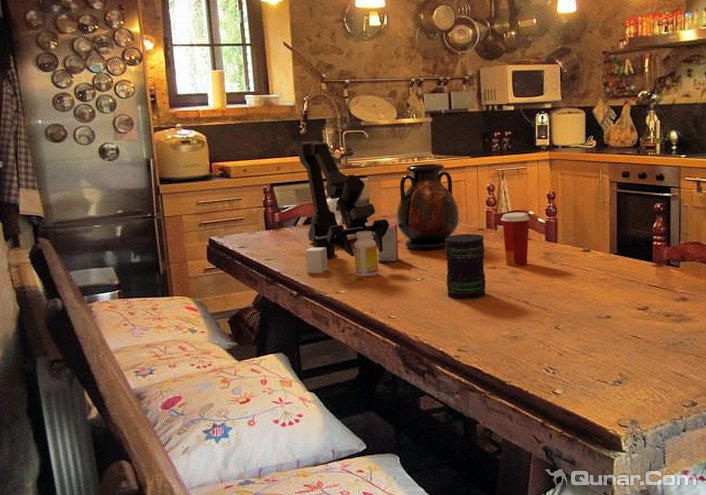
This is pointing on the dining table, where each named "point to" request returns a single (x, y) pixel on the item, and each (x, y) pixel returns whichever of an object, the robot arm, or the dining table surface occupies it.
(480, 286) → the storage jar
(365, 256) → the supplement bottle
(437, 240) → the amphora vase
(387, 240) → the supplement box
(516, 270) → the dining table surface
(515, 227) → the coffee cup
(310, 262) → the grey block
